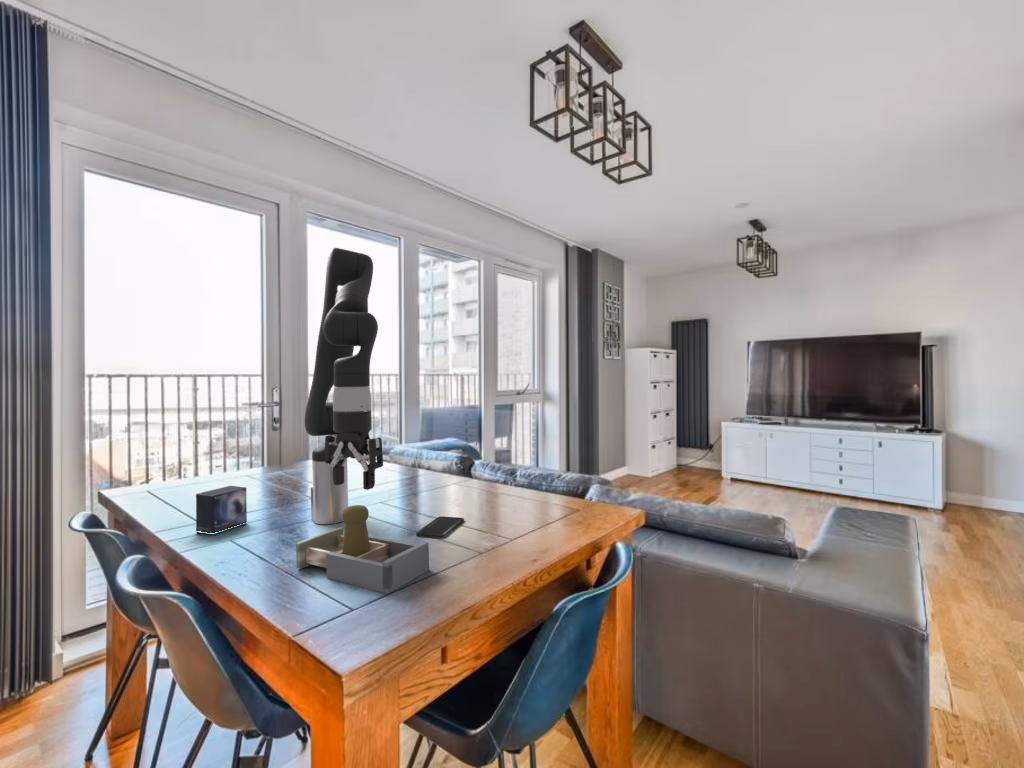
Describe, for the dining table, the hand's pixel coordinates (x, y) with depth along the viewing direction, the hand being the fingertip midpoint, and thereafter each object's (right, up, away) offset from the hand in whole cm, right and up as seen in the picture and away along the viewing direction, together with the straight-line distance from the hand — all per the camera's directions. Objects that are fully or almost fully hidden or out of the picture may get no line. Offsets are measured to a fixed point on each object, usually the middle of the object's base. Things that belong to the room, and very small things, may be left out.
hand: (353, 486), depth 97 cm
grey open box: (+6, -17, -3) cm, 18 cm away
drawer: (-2, -17, +2) cm, 17 cm away
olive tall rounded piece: (0, -15, 0) cm, 15 cm away
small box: (-45, -18, +29) cm, 57 cm away
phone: (+14, -17, +26) cm, 34 cm away
